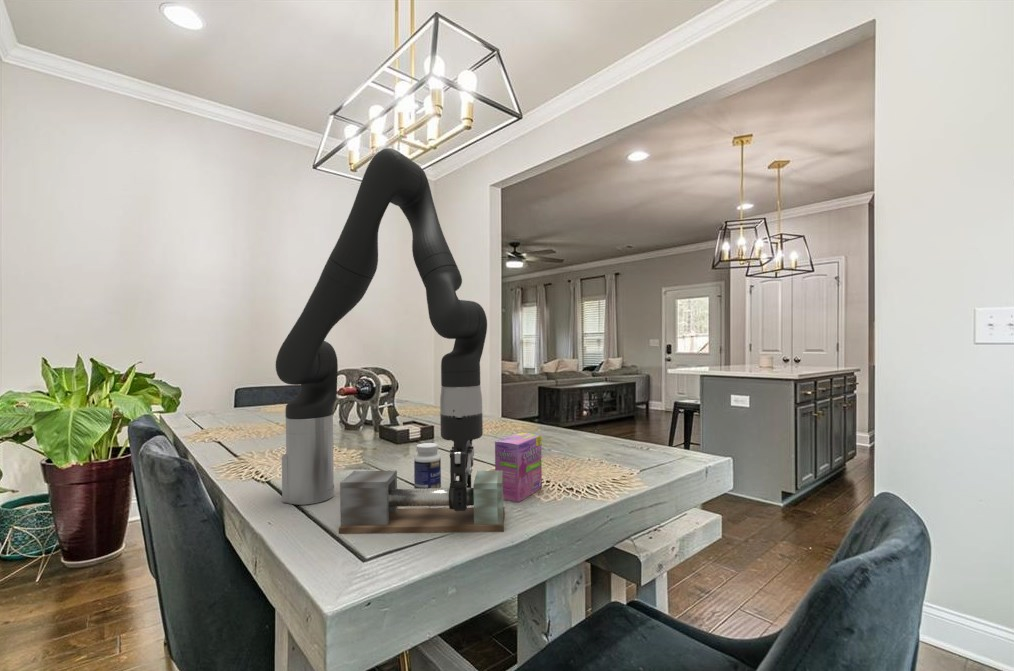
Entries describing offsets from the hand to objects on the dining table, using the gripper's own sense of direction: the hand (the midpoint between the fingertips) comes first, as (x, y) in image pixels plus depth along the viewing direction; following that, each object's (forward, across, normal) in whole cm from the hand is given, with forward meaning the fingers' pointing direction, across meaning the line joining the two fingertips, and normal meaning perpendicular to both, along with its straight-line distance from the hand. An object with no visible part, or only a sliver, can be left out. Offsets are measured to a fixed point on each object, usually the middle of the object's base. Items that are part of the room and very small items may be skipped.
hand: (462, 501), depth 84 cm
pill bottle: (+4, -18, -10) cm, 21 cm away
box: (+4, -16, +10) cm, 19 cm away
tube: (+1, 0, -4) cm, 4 cm away
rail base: (+4, 0, -7) cm, 8 cm away
